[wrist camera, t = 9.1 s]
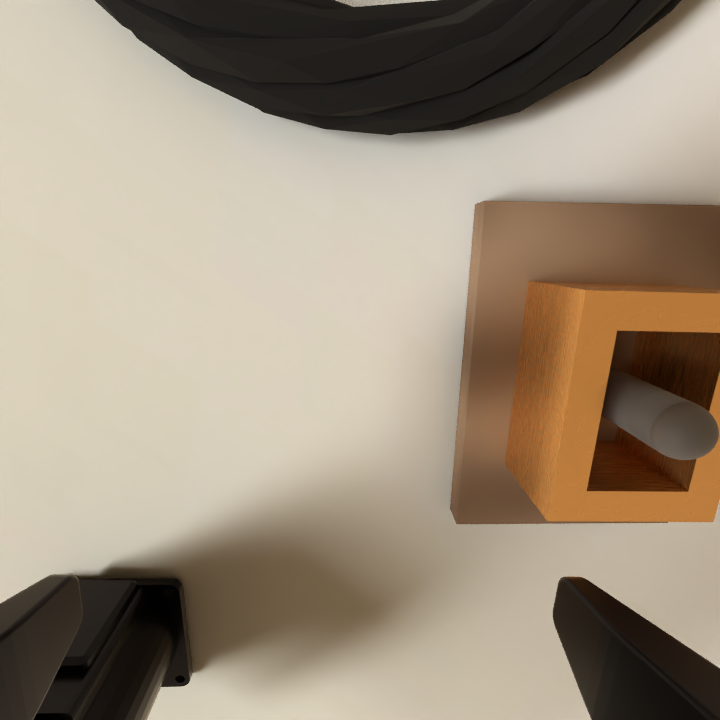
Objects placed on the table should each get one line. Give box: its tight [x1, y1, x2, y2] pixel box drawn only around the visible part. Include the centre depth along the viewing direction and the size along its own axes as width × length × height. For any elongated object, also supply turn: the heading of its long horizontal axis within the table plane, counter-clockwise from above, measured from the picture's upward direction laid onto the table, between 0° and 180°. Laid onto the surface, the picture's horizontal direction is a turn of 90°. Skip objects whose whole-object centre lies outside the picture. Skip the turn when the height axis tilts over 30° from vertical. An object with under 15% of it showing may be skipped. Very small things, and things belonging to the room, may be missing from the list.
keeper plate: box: [450, 201, 720, 524], centre depth 15 cm, size 14×10×7 cm
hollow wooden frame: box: [505, 281, 720, 522], centre depth 15 cm, size 8×6×4 cm
